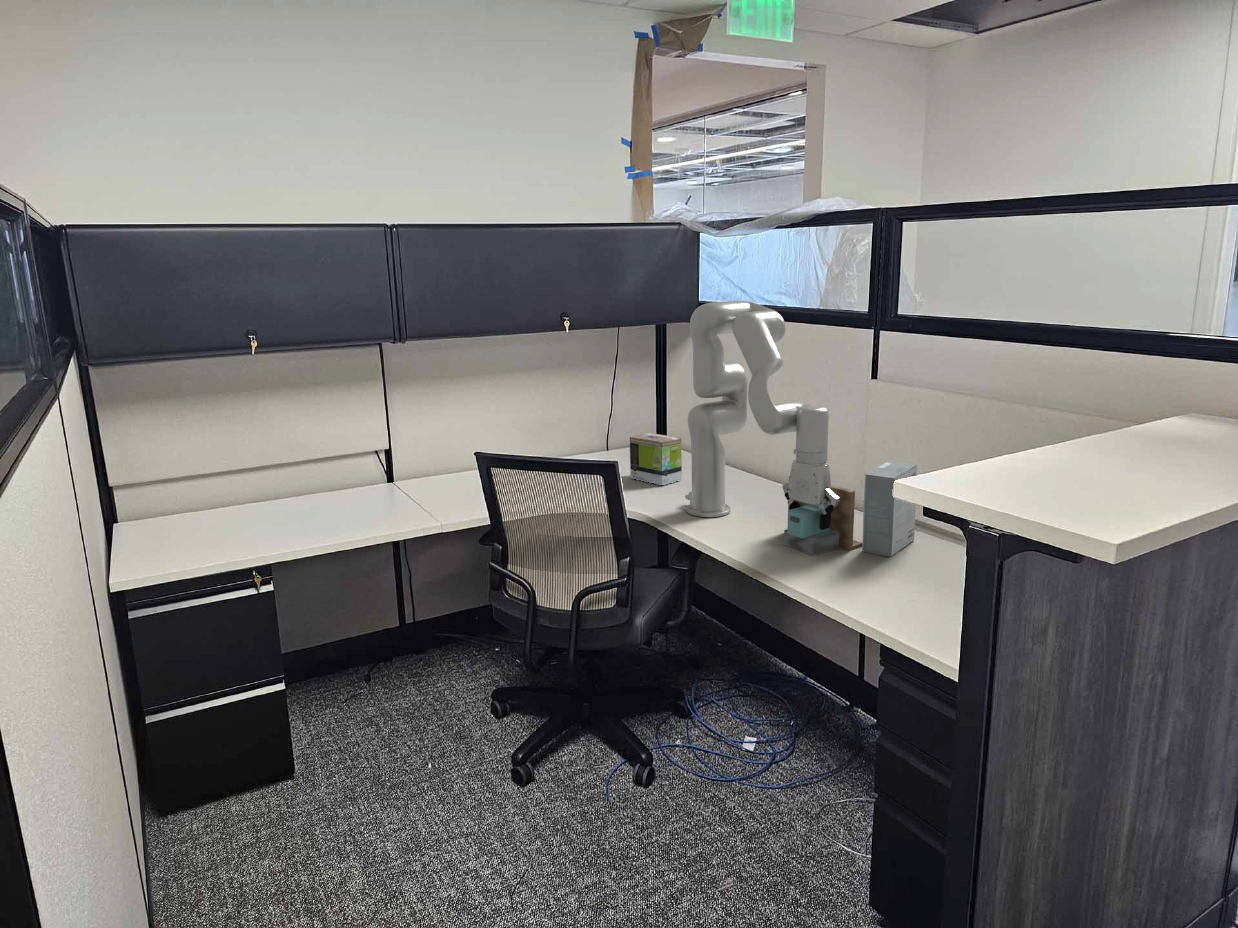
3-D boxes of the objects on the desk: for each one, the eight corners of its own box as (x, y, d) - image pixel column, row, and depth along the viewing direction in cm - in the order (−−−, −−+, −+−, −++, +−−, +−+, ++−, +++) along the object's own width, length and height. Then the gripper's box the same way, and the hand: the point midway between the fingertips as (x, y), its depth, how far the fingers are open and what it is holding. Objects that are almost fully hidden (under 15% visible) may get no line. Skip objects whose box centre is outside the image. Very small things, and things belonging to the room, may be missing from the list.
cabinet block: (785, 533, 203) (786, 510, 202) (814, 525, 209) (815, 502, 208) (801, 538, 200) (801, 515, 198) (830, 530, 206) (830, 507, 204)
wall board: (763, 538, 213) (764, 482, 209) (801, 527, 221) (803, 473, 218) (824, 558, 197) (826, 498, 194) (862, 545, 205) (865, 488, 202)
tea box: (682, 481, 271) (682, 437, 268) (661, 487, 265) (661, 442, 261) (650, 473, 282) (649, 431, 279) (629, 479, 275) (628, 436, 272)
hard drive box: (885, 535, 213) (889, 460, 208) (914, 540, 208) (919, 464, 204) (860, 551, 201) (864, 473, 197) (891, 558, 197) (895, 477, 192)
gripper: (774, 453, 205) (773, 519, 209) (829, 465, 191) (826, 535, 195) (795, 449, 209) (793, 513, 213) (850, 460, 195) (847, 529, 199)
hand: (809, 523), depth 204 cm, fingers open, 9 cm apart
